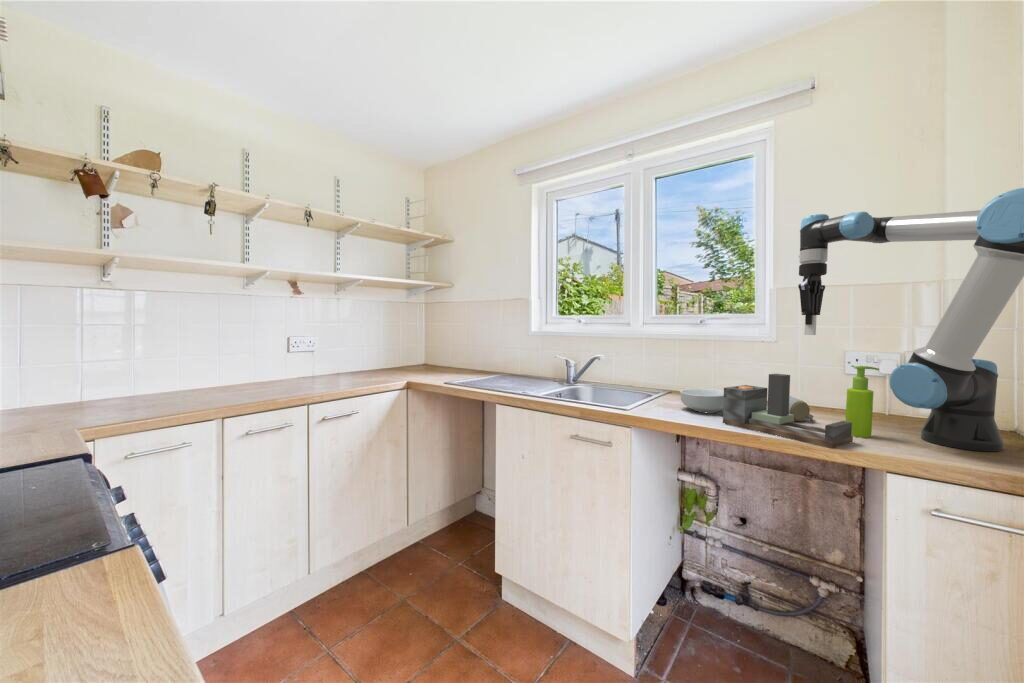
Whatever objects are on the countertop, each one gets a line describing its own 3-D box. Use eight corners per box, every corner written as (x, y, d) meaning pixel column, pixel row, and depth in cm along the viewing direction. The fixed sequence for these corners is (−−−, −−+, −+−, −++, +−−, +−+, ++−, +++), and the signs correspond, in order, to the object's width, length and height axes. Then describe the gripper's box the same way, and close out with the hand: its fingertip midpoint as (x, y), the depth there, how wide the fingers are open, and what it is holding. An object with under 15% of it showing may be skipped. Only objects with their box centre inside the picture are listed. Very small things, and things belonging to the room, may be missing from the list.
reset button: (755, 396, 133) (755, 387, 133) (747, 398, 131) (748, 388, 131) (742, 394, 136) (743, 385, 136) (735, 396, 134) (735, 386, 134)
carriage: (793, 421, 125) (795, 374, 124) (779, 424, 121) (781, 376, 120) (766, 416, 132) (767, 371, 131) (751, 418, 128) (753, 373, 127)
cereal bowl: (696, 404, 165) (697, 386, 164) (739, 412, 151) (740, 392, 151) (670, 409, 155) (670, 390, 155) (713, 418, 141) (714, 397, 141)
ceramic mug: (790, 422, 136) (792, 399, 135) (772, 416, 144) (773, 394, 143) (820, 422, 137) (821, 399, 137) (800, 416, 145) (801, 394, 145)
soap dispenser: (879, 439, 117) (883, 368, 116) (849, 436, 119) (853, 366, 118) (870, 433, 123) (873, 365, 122) (841, 431, 125) (844, 364, 124)
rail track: (852, 441, 114) (854, 400, 114) (831, 448, 108) (833, 404, 108) (744, 419, 140) (745, 385, 140) (722, 423, 134) (723, 387, 134)
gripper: (810, 266, 145) (807, 334, 146) (790, 263, 138) (787, 334, 139) (835, 263, 138) (832, 334, 140) (816, 260, 132) (813, 335, 133)
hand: (810, 334), depth 140 cm, fingers closed
